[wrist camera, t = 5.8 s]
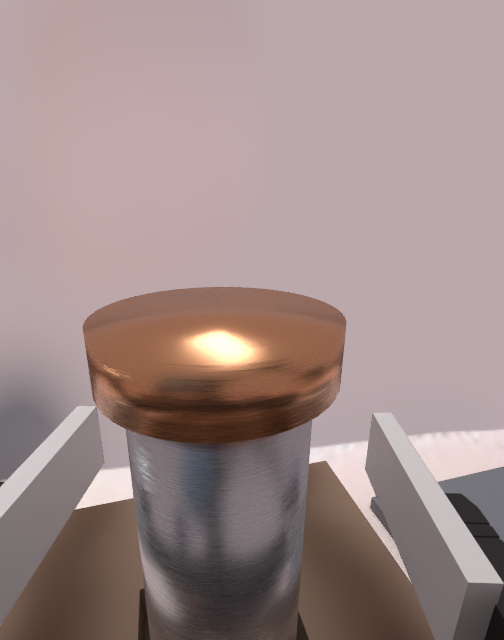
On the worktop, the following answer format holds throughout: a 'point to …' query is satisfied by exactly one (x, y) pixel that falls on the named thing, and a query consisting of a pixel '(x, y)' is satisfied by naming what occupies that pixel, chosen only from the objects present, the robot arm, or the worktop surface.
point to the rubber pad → (472, 496)
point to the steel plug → (218, 447)
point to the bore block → (129, 595)
